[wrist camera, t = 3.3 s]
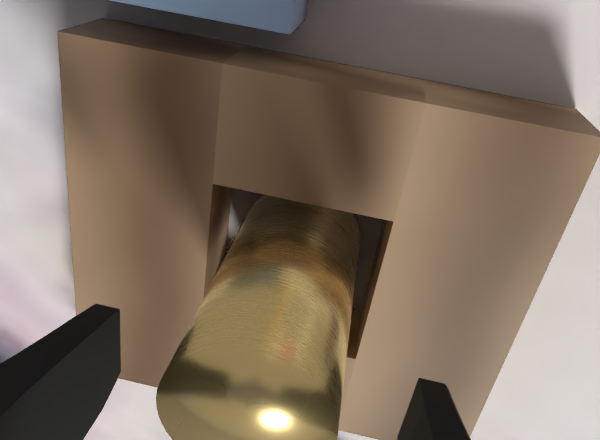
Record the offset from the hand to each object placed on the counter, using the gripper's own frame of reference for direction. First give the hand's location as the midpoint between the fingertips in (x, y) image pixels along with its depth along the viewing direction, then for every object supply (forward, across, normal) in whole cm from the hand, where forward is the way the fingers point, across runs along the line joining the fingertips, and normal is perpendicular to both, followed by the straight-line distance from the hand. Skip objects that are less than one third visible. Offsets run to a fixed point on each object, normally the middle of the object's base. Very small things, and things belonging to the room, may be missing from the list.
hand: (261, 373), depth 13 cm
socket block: (+7, 0, 0) cm, 7 cm away
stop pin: (+7, 0, 0) cm, 7 cm away
